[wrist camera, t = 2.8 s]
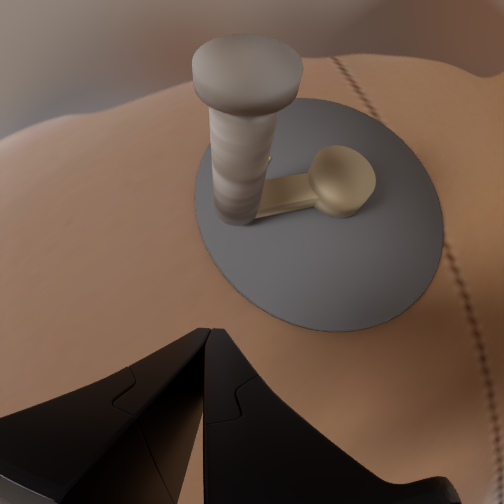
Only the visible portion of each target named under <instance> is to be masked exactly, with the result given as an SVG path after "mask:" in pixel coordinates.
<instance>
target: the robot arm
mask: <svg viewBox="0 0 504 504" xmlns="http://www.w3.org/2000/svg"><path fill="white" fill-rule="evenodd" d="M202 413H203V487H204V504H462V503H461V500H460V498H459V495H458V493H457V491H456V489H455V488H454V486H453V485H452V483H451V482H450V481H449V480H448V479H447V478H446V477H442V476H437V477H430V478H426V479H422V480H419V481H415V482H412V483H407V484H393V483H389V482H386V481H384V480H382V479H380V478H379V477H377V476H376V475H375V474H373V473H372V472H371V471H369V470H368V469H366V468H365V467H364V466H362V465H361V464H360V463H358V462H357V461H356V460H354V459H353V458H352V457H351V456H349V455H348V454H347V453H345V452H344V451H343V450H342V449H340V448H339V447H338V446H336V445H335V444H334V443H333V442H331V441H330V440H329V439H328V438H326V437H325V436H324V435H323V434H321V433H320V432H319V431H318V430H317V429H315V428H314V427H313V426H312V425H311V424H309V423H308V422H307V421H306V420H305V419H303V418H302V417H301V416H300V415H299V414H297V413H296V412H295V411H294V410H293V409H292V408H290V407H289V406H288V405H287V404H286V403H285V402H284V401H283V400H281V399H280V398H279V397H278V396H277V395H276V394H275V393H274V392H273V391H272V390H271V389H270V387H269V386H268V385H267V384H266V383H265V381H264V380H263V379H262V378H261V376H259V374H258V373H257V372H256V370H255V369H254V368H253V366H252V365H251V364H250V363H249V361H248V360H247V359H246V357H245V356H244V355H243V353H242V352H241V351H240V349H239V348H238V347H237V345H236V344H235V343H234V341H233V340H232V338H231V337H230V336H229V334H228V333H227V332H226V330H225V329H217V328H213V329H212V330H211V329H210V328H197V329H195V330H193V331H192V332H190V333H188V334H186V335H185V336H183V337H181V338H179V339H177V340H176V341H174V342H172V343H170V344H168V345H167V346H165V347H163V348H161V349H159V350H158V351H156V352H154V353H152V354H150V355H148V356H147V357H145V358H143V359H141V360H139V361H137V362H136V363H134V364H132V365H130V366H129V367H125V368H124V369H122V370H120V371H118V372H116V373H114V374H112V375H110V376H108V377H106V378H104V379H101V380H99V381H97V382H94V383H92V384H90V385H87V386H85V387H82V388H80V389H77V390H75V391H72V392H69V393H67V394H64V395H62V396H59V397H57V398H54V399H51V400H49V401H46V402H43V403H41V404H38V405H35V406H32V407H30V408H27V409H24V410H21V411H18V412H16V413H13V414H10V415H7V416H4V417H1V418H0V504H177V502H178V499H179V495H180V492H181V488H182V484H183V481H184V477H185V474H186V470H187V466H188V463H189V459H190V456H191V452H192V448H193V445H194V441H195V438H196V434H197V431H198V427H199V423H200V420H201V416H202Z"/></svg>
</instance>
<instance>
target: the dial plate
mask: <svg viewBox="0 0 504 504" xmlns="http://www.w3.org/2000/svg"><path fill="white" fill-rule="evenodd" d="M335 145H337V146H345V147H348V148H351V149H353V150H355V151H357V152H358V153H360V154H361V155H362V156H363V157H365V158H366V159H367V161H368V162H369V163H370V165H371V166H372V168H373V170H374V173H375V178H376V185H375V189H374V191H373V193H372V194H371V195H370V196H369V198H368V199H367V200H366V201H365V203H364V204H363V205H362V206H361V208H360V209H359V210H358V211H357V212H356V213H355V214H353V215H352V216H349V217H345V218H335V217H330V216H328V215H325V214H323V213H322V212H320V211H319V210H317V209H316V208H315V207H309V208H304V209H299V210H294V211H289V212H284V213H279V214H274V215H269V216H264V217H259V218H255V219H253V220H252V221H251V222H250V223H248V224H245V225H242V226H232V225H229V224H226V223H225V222H223V221H222V220H221V219H220V218H219V217H218V216H217V214H216V211H215V204H214V189H213V173H212V156H211V143H210V145H209V146H208V148H207V149H206V152H205V154H204V156H203V158H202V160H201V162H200V166H199V169H198V173H197V177H196V185H195V210H196V215H197V220H198V225H199V230H200V232H201V235H202V238H203V241H204V244H205V246H206V248H207V250H208V252H209V254H210V256H211V258H212V260H213V262H214V263H215V264H216V266H217V267H218V269H219V270H220V271H221V273H222V274H223V276H224V277H225V278H226V279H227V280H228V282H229V283H230V284H231V285H232V286H233V287H234V288H235V289H236V290H237V291H238V292H239V293H240V294H241V295H243V296H244V297H245V298H246V299H248V300H249V301H250V302H251V303H253V304H254V305H255V306H257V307H258V308H260V309H262V310H263V311H265V312H267V313H268V314H270V315H272V316H273V317H276V318H278V319H280V320H283V321H285V322H287V323H290V324H292V325H296V326H299V327H303V328H307V329H310V330H318V331H326V332H349V331H355V330H361V329H366V328H370V327H373V326H375V325H378V324H381V323H384V322H386V321H388V320H390V319H392V318H394V317H396V316H397V315H399V314H401V313H402V312H403V311H405V310H406V309H407V308H409V307H410V306H411V305H412V304H413V303H414V302H415V301H416V300H417V299H418V298H419V297H420V296H421V295H422V294H423V292H424V291H425V289H426V288H427V286H428V285H429V283H430V282H431V280H432V278H433V276H434V273H435V271H436V269H437V266H438V263H439V259H440V256H441V251H442V244H443V220H442V212H441V208H440V203H439V199H438V196H437V193H436V191H435V188H434V185H433V183H432V181H431V179H430V177H429V175H428V173H427V171H426V170H425V168H424V167H423V165H422V163H421V162H420V160H419V159H418V158H417V156H416V155H415V154H414V153H413V151H412V150H411V149H410V148H409V147H408V146H407V145H406V144H405V143H404V141H403V140H402V139H400V138H399V137H398V136H397V135H396V134H395V133H394V132H392V131H391V130H390V129H389V128H387V127H386V126H384V125H383V124H382V123H380V122H379V121H377V120H375V119H374V118H372V117H370V116H368V115H367V114H365V113H362V112H360V111H358V110H356V109H354V108H351V107H348V106H345V105H342V104H339V103H335V102H331V101H326V100H319V99H309V98H295V99H294V100H293V102H292V103H291V104H290V105H288V106H287V107H286V108H284V109H282V110H280V111H279V113H278V118H277V123H276V128H275V133H274V138H273V142H272V147H271V152H270V157H269V162H268V167H267V172H266V176H265V180H268V179H274V178H280V177H286V176H292V175H298V174H304V173H308V171H309V169H310V166H311V164H312V162H313V159H314V157H315V155H316V154H317V153H318V152H319V151H320V150H321V149H323V148H325V147H328V146H335Z"/></svg>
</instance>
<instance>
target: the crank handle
mask: <svg viewBox="0 0 504 504" xmlns="http://www.w3.org/2000/svg"><path fill="white" fill-rule="evenodd" d="M192 68H193V81H194V89H195V92H196V94H197V96H198V97H199V98H200V99H201V100H202V101H203V102H204V103H205V104H206V105H208V106H209V117H210V138H211V156H212V173H213V189H214V204H215V211H216V214H217V216H218V217H219V218H220V219H221V220H222V221H223V222H225V223H226V224H229V225H232V226H242V225H245V224H248V223H250V222H251V221H252V220H253V219H255V218H259V217H264V216H269V215H274V214H279V213H284V212H289V211H294V210H299V209H304V208H309V207H315V208H316V209H317V210H319V211H320V212H322V213H323V214H325V215H328V216H330V217H335V218H345V217H349V216H352V215H353V214H355V213H356V212H357V211H358V210H359V209H360V208H361V206H362V205H363V204H364V203H365V201H366V200H367V199H368V198H369V196H370V195H371V194H372V193H373V191H374V189H375V185H376V178H375V173H374V170H373V168H372V166H371V165H370V163H369V162H368V161H367V159H366V158H365V157H363V156H362V155H361V154H360V153H358V152H357V151H355V150H353V149H351V148H348V147H345V146H337V145H335V146H328V147H325V148H323V149H321V150H320V151H319V152H318V153H317V154H316V155H315V157H314V159H313V162H312V164H311V166H310V169H309V171H308V173H304V174H298V175H292V176H286V177H280V178H274V179H268V180H265V176H266V172H267V167H268V162H269V157H270V152H271V147H272V142H273V138H274V133H275V128H276V123H277V118H278V113H279V111H280V110H282V109H284V108H286V107H287V106H288V105H290V104H291V103H292V102H293V100H294V99H295V97H296V95H297V93H298V89H299V85H300V81H301V77H302V73H303V63H302V60H301V58H300V56H299V55H298V54H297V53H296V52H295V51H294V50H293V49H292V48H291V47H290V46H288V45H286V44H285V43H283V42H281V41H278V40H276V39H274V38H270V37H267V36H262V35H256V34H232V35H226V36H222V37H218V38H215V39H213V40H210V41H208V42H207V43H205V44H204V45H202V46H201V47H200V48H199V49H198V50H197V51H196V53H195V54H194V56H193V59H192Z"/></svg>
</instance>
